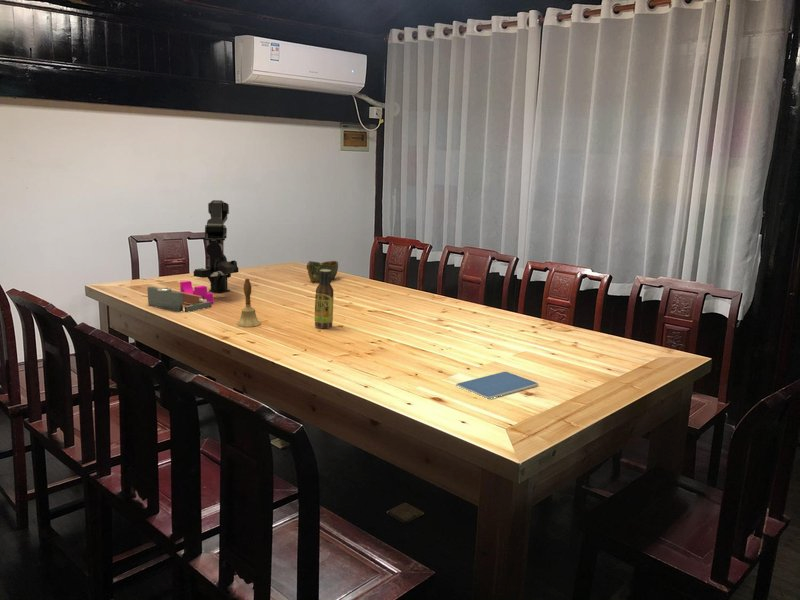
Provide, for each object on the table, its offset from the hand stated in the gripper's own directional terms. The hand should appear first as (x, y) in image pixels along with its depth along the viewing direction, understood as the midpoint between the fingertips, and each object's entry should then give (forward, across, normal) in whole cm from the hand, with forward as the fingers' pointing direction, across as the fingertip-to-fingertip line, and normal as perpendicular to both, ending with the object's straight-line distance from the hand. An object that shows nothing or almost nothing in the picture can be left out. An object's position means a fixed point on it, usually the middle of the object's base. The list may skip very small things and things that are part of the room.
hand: (217, 291), depth 264 cm
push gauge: (+3, -19, 0) cm, 19 cm away
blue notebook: (+4, -25, -137) cm, 139 cm away
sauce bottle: (+3, -8, -63) cm, 63 cm away
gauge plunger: (+2, -15, -1) cm, 15 cm away
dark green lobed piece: (+3, +59, -5) cm, 59 cm away
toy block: (+3, -10, 0) cm, 11 cm away
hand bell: (+3, -22, -41) cm, 46 cm away
